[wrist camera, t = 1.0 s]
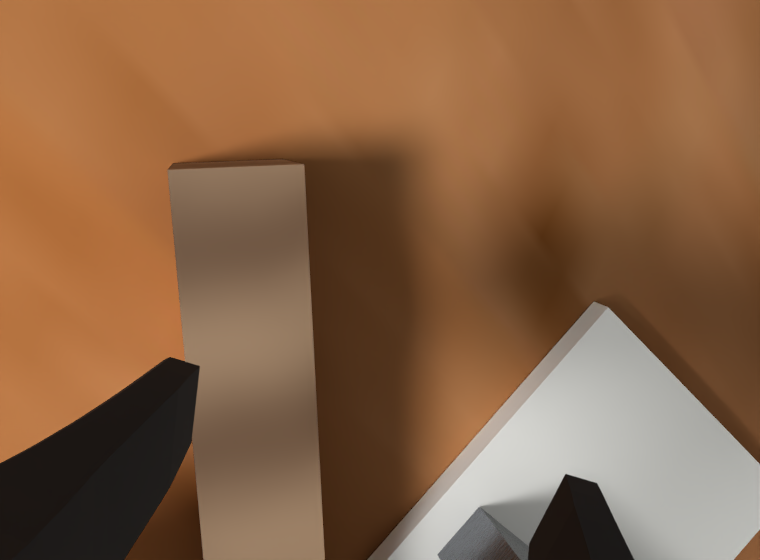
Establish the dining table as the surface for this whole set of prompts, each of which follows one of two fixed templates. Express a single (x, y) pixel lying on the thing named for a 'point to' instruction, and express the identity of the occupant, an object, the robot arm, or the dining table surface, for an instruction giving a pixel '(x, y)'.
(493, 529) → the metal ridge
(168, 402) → the robot arm
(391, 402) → the dining table surface
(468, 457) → the grey board
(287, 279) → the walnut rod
